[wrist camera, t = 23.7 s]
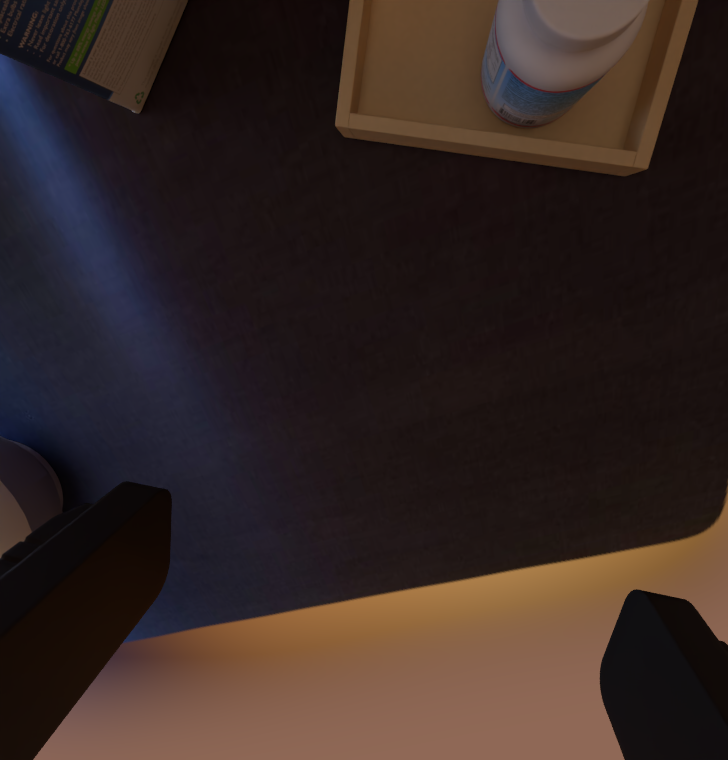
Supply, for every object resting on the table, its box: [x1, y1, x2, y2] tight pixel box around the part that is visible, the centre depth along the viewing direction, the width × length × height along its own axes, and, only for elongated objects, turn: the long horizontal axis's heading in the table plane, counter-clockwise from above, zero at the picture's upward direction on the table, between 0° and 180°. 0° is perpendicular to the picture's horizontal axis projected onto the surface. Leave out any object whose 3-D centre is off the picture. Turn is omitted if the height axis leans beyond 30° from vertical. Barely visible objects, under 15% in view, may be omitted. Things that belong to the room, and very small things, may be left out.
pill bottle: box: [481, 0, 649, 128], centre depth 22 cm, size 6×6×11 cm
